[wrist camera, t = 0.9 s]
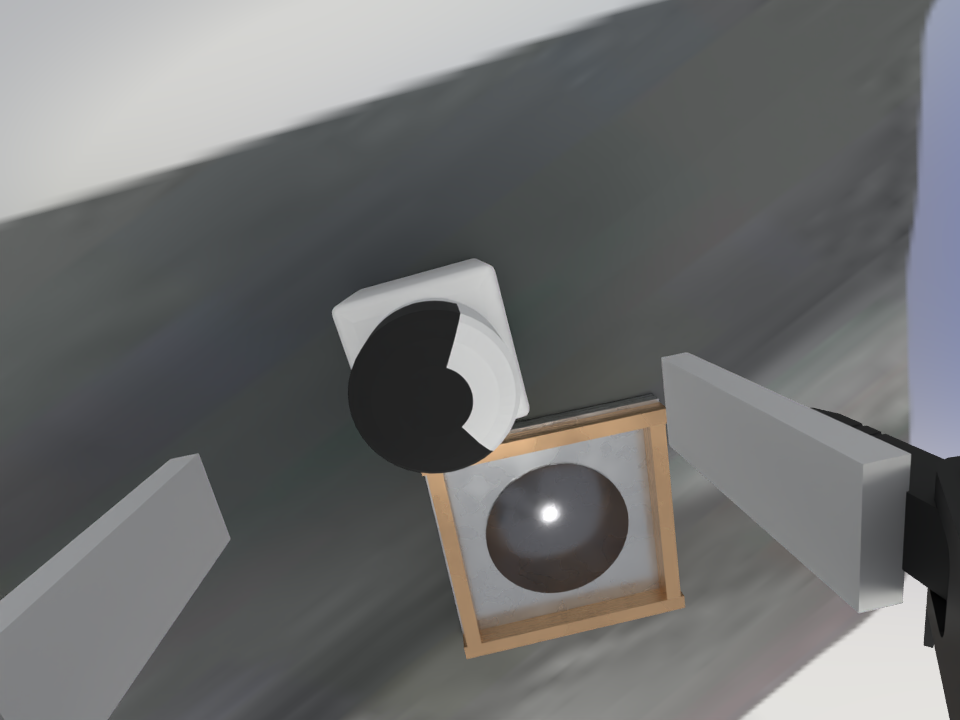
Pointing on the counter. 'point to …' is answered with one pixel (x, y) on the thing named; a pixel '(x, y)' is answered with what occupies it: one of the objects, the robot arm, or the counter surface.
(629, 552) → the wooden square frame
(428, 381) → the container
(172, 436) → the counter surface
